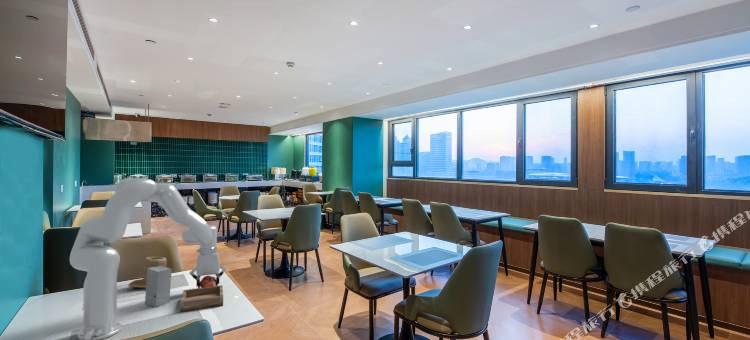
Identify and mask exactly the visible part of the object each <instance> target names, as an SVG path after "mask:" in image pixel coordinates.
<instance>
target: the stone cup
mask: <svg viewBox="0 0 750 340" xmlns="http://www.w3.org/2000/svg"><path fill="white" fill-rule="evenodd" d="M167 262H168V260H167V258H166V257H164V256H163V257H162V256H146V257H145V258H144V260H143V262H142V271H143V277H142V278H140V279H135V280H133V281H131V282H130V283H128V287H129V288H141V289H146V283H147V269H148V268H152V267H157V266H164V267H167V264H168V263H167Z"/></svg>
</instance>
